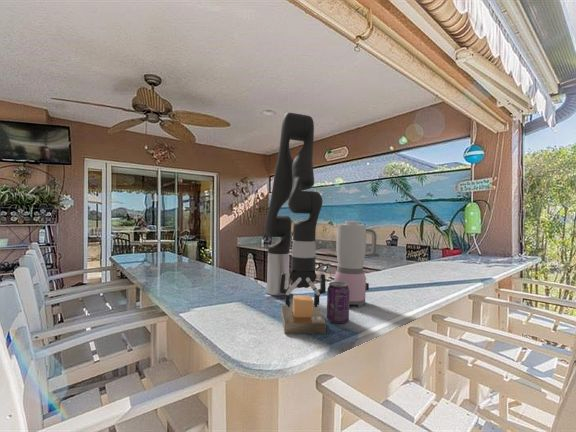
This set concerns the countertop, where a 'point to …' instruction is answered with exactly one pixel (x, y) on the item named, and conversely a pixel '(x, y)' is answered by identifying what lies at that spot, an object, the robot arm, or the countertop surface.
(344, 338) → the countertop surface
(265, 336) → the countertop surface
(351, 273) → the blender
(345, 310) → the beverage can
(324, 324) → the socket plate
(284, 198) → the robot arm
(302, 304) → the plug
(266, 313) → the countertop surface
